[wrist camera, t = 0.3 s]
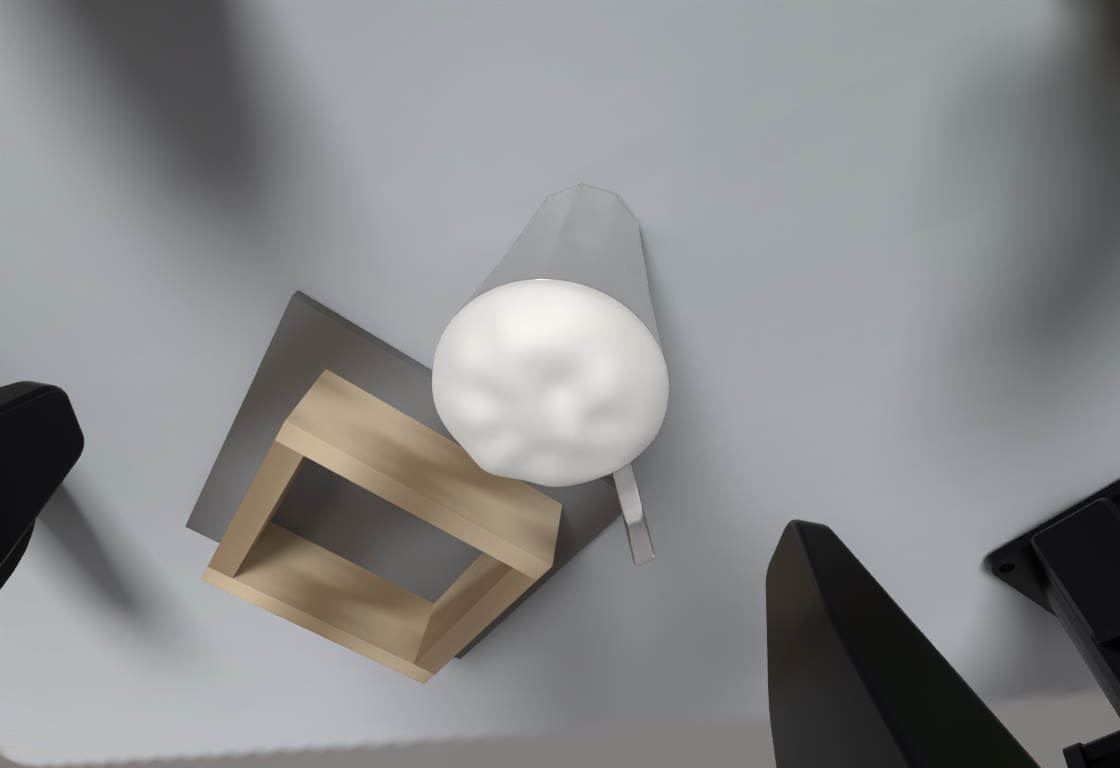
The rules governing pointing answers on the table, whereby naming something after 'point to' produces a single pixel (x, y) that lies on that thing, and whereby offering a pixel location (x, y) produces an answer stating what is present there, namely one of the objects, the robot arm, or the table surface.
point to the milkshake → (560, 356)
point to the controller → (15, 556)
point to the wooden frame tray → (376, 504)
